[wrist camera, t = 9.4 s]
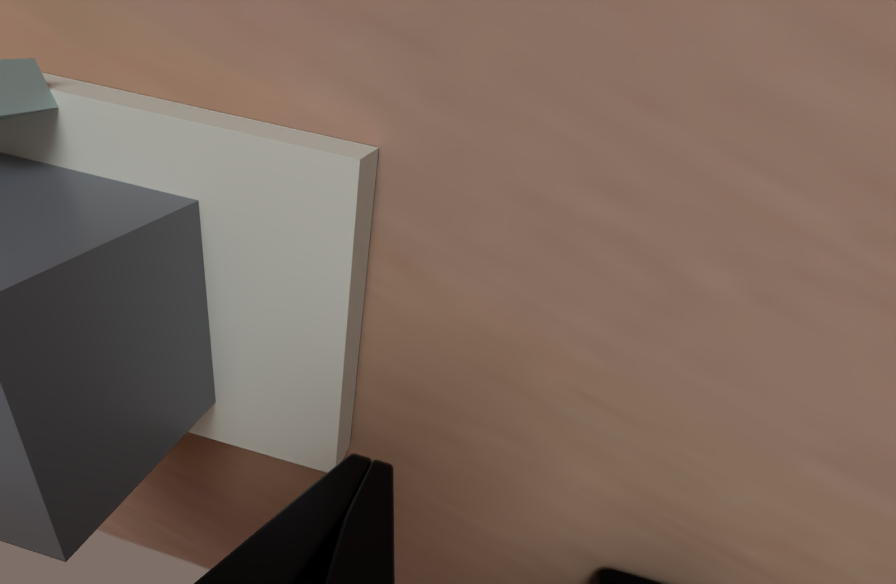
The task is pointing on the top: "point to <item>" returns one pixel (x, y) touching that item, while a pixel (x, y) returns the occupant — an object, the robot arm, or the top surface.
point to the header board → (235, 244)
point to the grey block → (93, 346)
